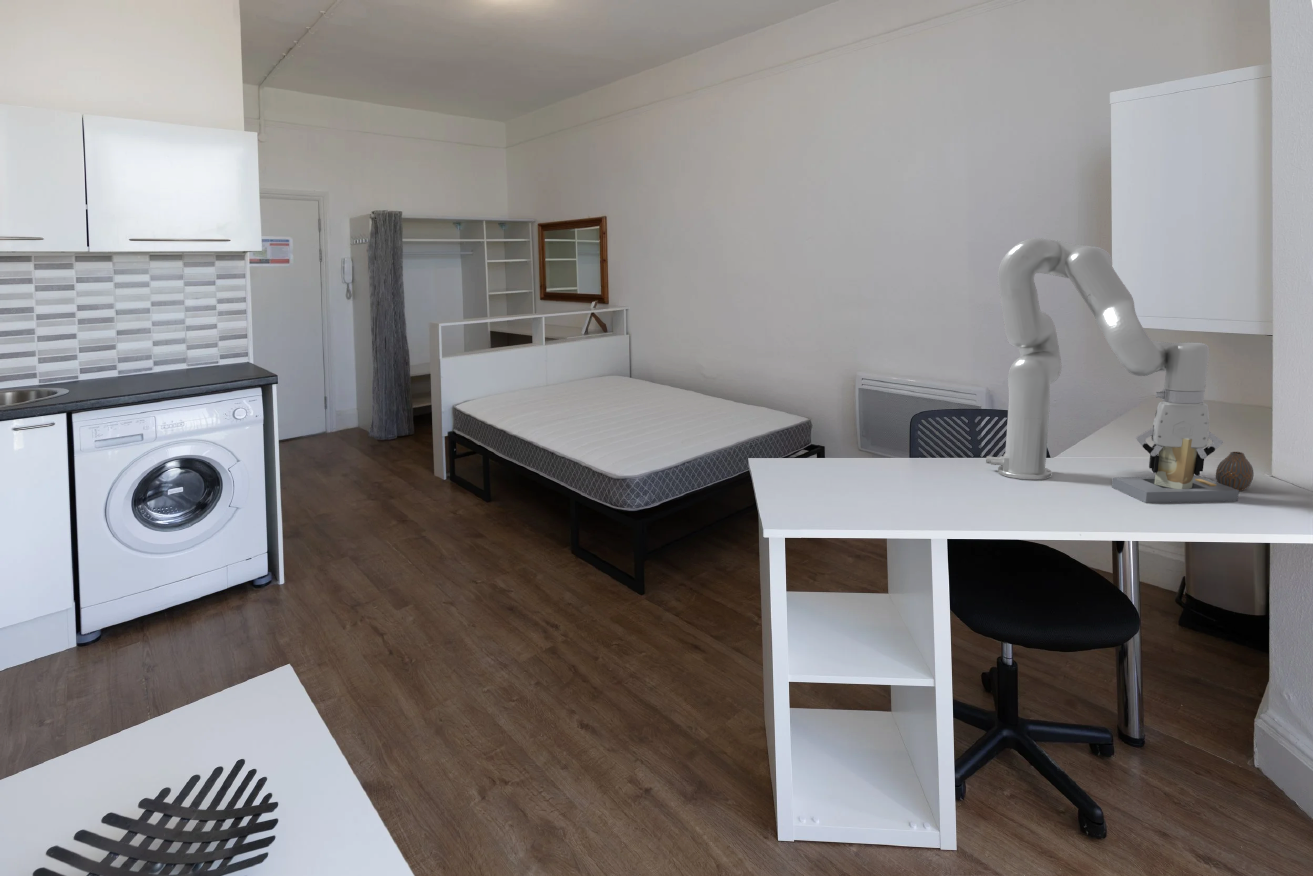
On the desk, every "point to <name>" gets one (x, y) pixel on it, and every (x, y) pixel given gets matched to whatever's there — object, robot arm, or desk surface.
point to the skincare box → (1176, 466)
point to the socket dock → (1174, 490)
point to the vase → (1235, 471)
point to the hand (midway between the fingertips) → (1175, 472)
